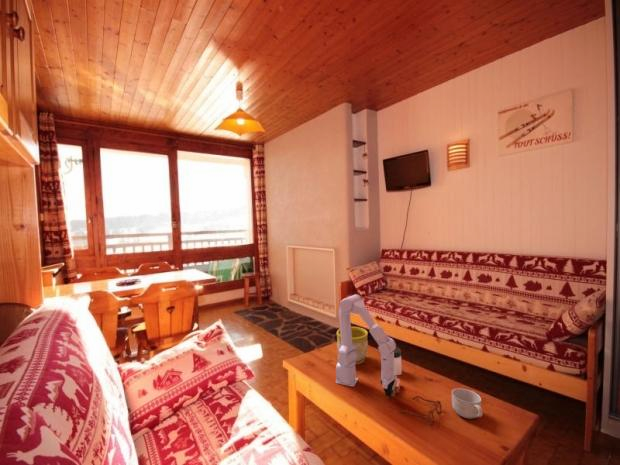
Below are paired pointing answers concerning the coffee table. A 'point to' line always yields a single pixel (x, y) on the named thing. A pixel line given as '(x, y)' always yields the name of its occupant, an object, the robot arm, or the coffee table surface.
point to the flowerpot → (357, 342)
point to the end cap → (397, 385)
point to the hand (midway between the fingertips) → (388, 395)
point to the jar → (397, 362)
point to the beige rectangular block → (394, 389)
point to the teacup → (466, 403)
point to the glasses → (428, 412)
